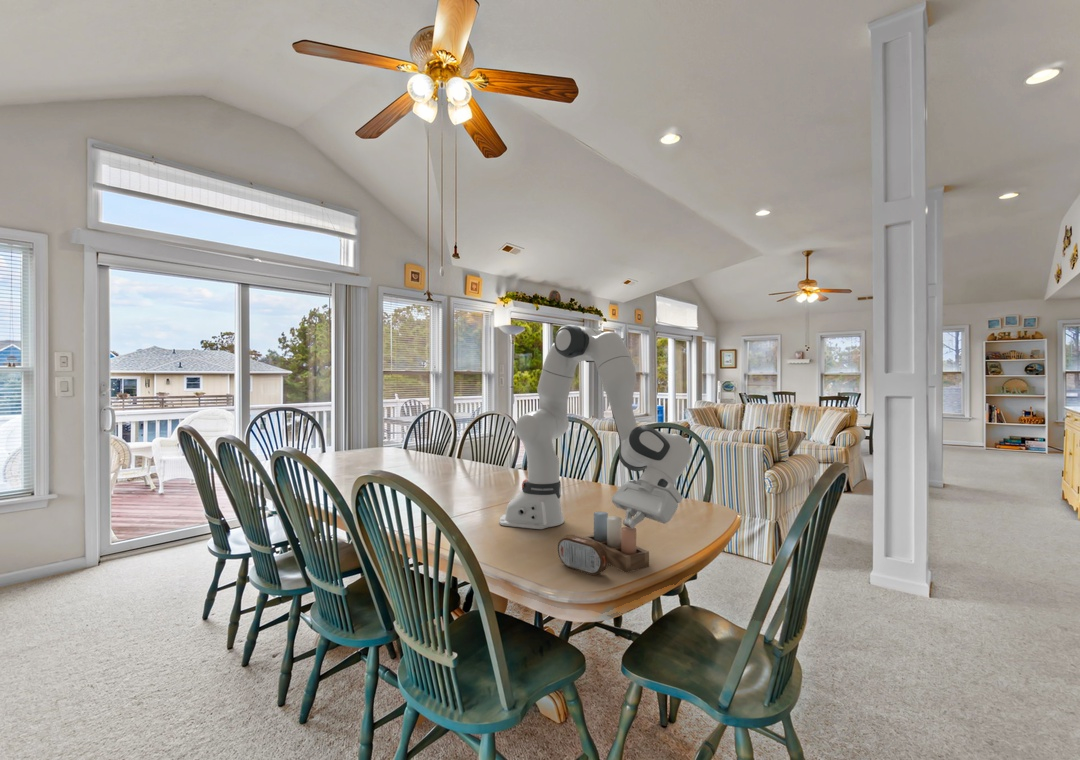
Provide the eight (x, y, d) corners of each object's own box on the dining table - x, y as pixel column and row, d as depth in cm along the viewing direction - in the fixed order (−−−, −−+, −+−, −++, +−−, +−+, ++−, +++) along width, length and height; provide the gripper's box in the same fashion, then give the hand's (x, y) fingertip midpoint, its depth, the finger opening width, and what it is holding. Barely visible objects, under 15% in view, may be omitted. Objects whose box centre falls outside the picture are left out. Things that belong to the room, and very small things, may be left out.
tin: (608, 576, 129) (608, 543, 129) (601, 579, 127) (601, 546, 127) (563, 561, 139) (562, 531, 139) (555, 565, 137) (555, 533, 137)
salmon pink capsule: (621, 561, 134) (621, 531, 134) (621, 555, 138) (621, 526, 138) (636, 561, 134) (636, 531, 133) (636, 556, 138) (636, 527, 137)
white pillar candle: (606, 549, 139) (606, 520, 139) (607, 544, 143) (607, 516, 143) (621, 549, 139) (621, 520, 139) (621, 545, 143) (621, 516, 143)
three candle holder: (649, 566, 135) (649, 551, 135) (626, 572, 131) (626, 557, 131) (604, 546, 151) (604, 532, 151) (582, 551, 147) (582, 537, 147)
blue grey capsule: (593, 543, 144) (593, 515, 144) (594, 538, 148) (594, 511, 148) (607, 543, 144) (607, 515, 144) (607, 539, 148) (607, 511, 148)
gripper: (623, 472, 148) (596, 510, 143) (675, 485, 131) (647, 528, 126) (634, 485, 151) (609, 523, 146) (687, 499, 133) (660, 543, 128)
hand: (627, 526), depth 136 cm, fingers closed
